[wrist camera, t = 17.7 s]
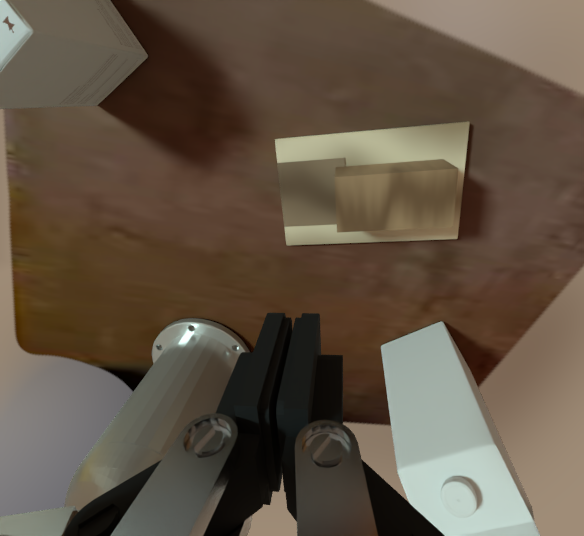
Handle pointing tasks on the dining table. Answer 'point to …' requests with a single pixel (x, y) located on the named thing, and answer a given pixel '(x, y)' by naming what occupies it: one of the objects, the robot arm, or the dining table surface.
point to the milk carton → (450, 441)
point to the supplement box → (63, 52)
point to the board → (352, 152)
